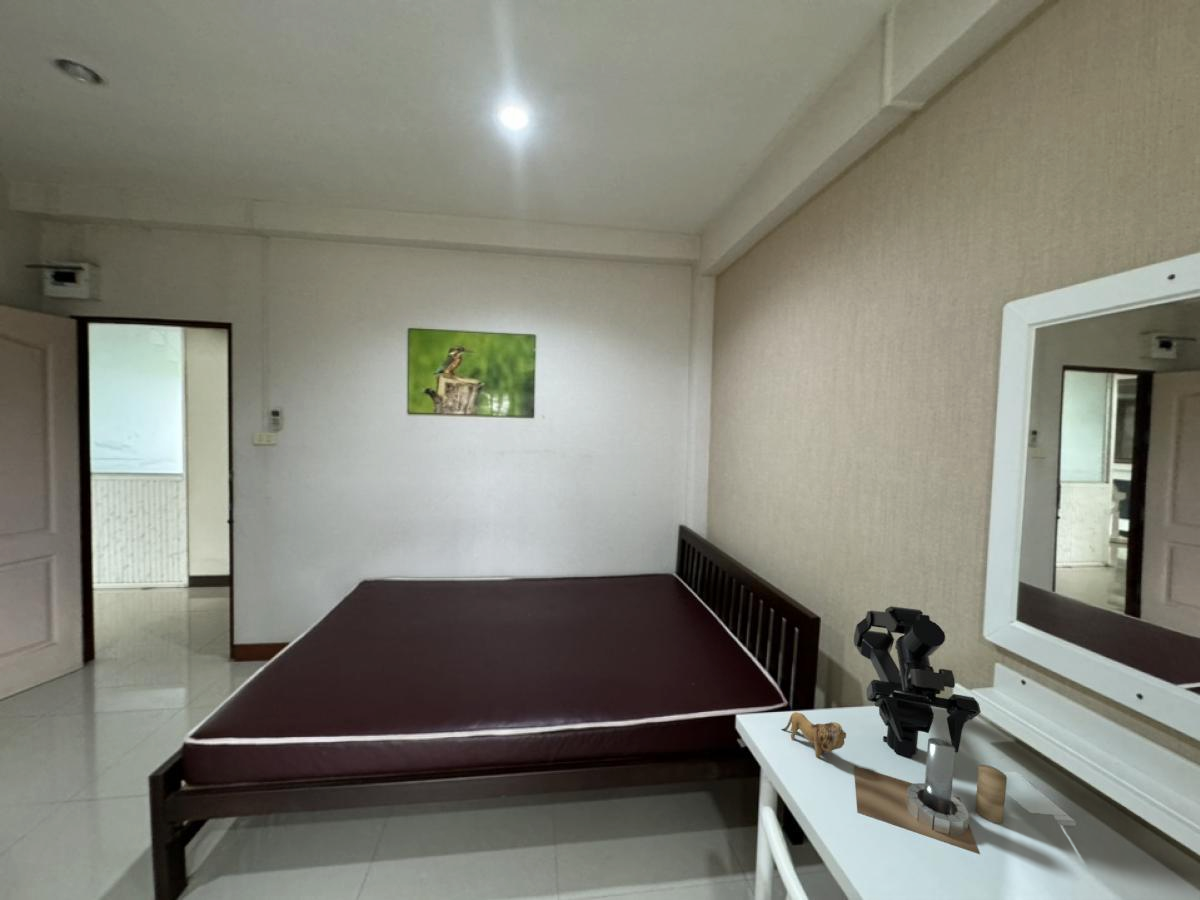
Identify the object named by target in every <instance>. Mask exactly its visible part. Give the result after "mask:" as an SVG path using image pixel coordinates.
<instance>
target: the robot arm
mask: <svg viewBox="0 0 1200 900" xmlns="http://www.w3.org/2000/svg"><path fill="white" fill-rule="evenodd" d="M872 627H873V628H874V627H875V628H879V629H880V628H881V629H886V631H887V633H886V632H882V631H876V630H875V631H874V630H871V628H872ZM893 633H894V634H900V635H901V636H899V637H898V638H897V639H896V641H895V638H894V636H893ZM945 641H946V633H945V631H944V630H943V629H942V627H940V625H938V624H937V623H936V622H934V621H933V620H931V619H930V615H929V614H923V611H922V609H921V610H920V609H916V608H909V607H907V608H906V607H899V606H893V605H891V606H888V607H886V608H885V611H878V610H869V611H868V610H867V612H866V614H865V618H863V619H862V620H861V621H860V622H858V623H857V624H856V626H855V630H854V634H853V643H854V647H856V649H857V651H858V652H859V653H860V655H861V656H863V657H864V658H866V659H868V660H869V661H871V664H872V666H873V667H874V669H875V671H876V674H877V676H878V678H879V680H877V679H873V680H871V681H870V682H869V684H868V685H867V687H866V699H867V701H869V702H872V703H874V706H875V707H877V708H878V712H879V714H878V715H879V716H880V718H881V720H882V722H883V723H884V725H885V726H887V733H886V735H883V737H882V741H883V742H884V743H886V744H887V746H888V747H889V748H890V749H892V750H893V752H894V753H895V754H896V755H897V756H900V757H904V758H908V759H912V758H913V756H914V755H915V756H916V754H917V752H919V750H918V742H919V741H918V739H919V732H921V733H922V732H923V733H926V734H929V733H930V731H931V728H932V724H933V720H934V714H935V713H934V712H933V709H932V707H933V708H938V709H944V710H946V713H947V714H948V716H947V717H946V722H947V727H948V733H949V738H950V744H951V745H953V746H954V748H955V754H957V753H959V750H960V744H961V739H962V738H961V737H962V732H963V728H964V726H965V723H967V722H968V721H972V720H973V719H975V718H976V717H977V716H979V715H980V714H981V713H982V712H981V708H980V703H979V702H978V701H977V700H976V699H975V697H973V696H968V695H961V694H957V693H953V694H952V695H951V696H950V697H949V698H944V697H939V696H937V695H940V694H941V692H946V691H945V687H946V688H951V689H953V688H955V686H956V684H955V683H956V681H955V676H954V672H953V670H951V669H945V668H939V669H938V672H936V671H935V670H934V668H933V666H931V661H930V656H932V655H933V654H934V653H935V652H936V651H937V650H938V649H939V648H940V647H941V646H942V645H943V644H944V642H945ZM894 642H895V646H894V647H895V650H896V653H897V660H898V666H897V664H896V662H895V660H894V658H893V657H892V655H891V651H892V649H893V644H894ZM898 667H899V668H898Z"/></svg>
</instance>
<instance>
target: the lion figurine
mask: <svg viewBox="0 0 1200 900" xmlns="http://www.w3.org/2000/svg"><path fill="white" fill-rule="evenodd" d="M789 728H790V732H791V733H790V739H791V741H794V742H795V739H796V737H795V736H796V735H797V733H798V732H799V731H798V730H800V732H801V734H802V735H803V737H804V738H805V739H806V740H807V741H809V742H811V743H813V745H814V750H815V751H814V755H815V758H816V759H821V754H825V752H828V753H831V752H832V751H834V750H838V749H842V748H843V746H844V745H845V743H846V742H845V739H846V738H847V733H846V732H845V730H843V727H842V725H841V724H840V723H838V722H835V721H831V722H827V723H816V724H814V723H812V722H811V721H810V720H809V719H808V718H807V717H806V716H805V714H803V713H801V712H797V711H796V712H793V713H792V714H791V715H790V718H789V720H788V723H787V725H786V726H785V727H784V728H781V729H780V730H781V731H783V732H786V731H787V730H788V729H789Z"/></svg>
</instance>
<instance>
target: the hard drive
mask: <svg viewBox="0 0 1200 900" xmlns="http://www.w3.org/2000/svg"><path fill="white" fill-rule="evenodd" d="M1002 772H1003V773H1004V774H1005V775H1006V777H1007V782H1006V794H1007V795H1009V796H1010V797H1011V798H1012V799H1013V800H1015V802H1017V803H1018V804H1019V805H1020V806H1021V807H1022V808H1023V809H1025V810H1026V811H1027V812H1029V813H1030V814H1035V813H1036V814H1041V815H1052V816H1053V817H1054V819H1055V821H1056V822H1057V823H1058V825H1059V826H1067V827H1068V826H1071V827H1075V826H1077V824H1076V823H1077V821H1075V819H1073V818H1072V817H1071V816H1069V814H1067V813H1066V812H1065V811H1064V810H1062V809H1061V808H1060V807H1059V806H1058V805H1056V804H1055V803H1054V802H1053V801H1051V799H1049V798H1048V797H1047V796H1046V795H1044V794H1043V793H1042V792H1041V791H1039V790H1038V789H1037V788H1035V786H1033V785H1032V784H1030V783H1029V782H1028V780H1026V779H1025V778H1024V777H1023V776H1022V775H1020V774H1019V773H1018V772H1016V771H1002Z"/></svg>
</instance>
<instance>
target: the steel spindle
mask: <svg viewBox="0 0 1200 900" xmlns="http://www.w3.org/2000/svg"><path fill="white" fill-rule="evenodd" d="M927 740H928V741H927V751H926V763H925V764H926V765H925V774H924V775H925V776H924V784H925V787H924V800H923V804H924V805H925V806H927V807H928V808H930V809H932V810H933V811H935V812H938V813H941V814H945V815H950V807H951V795H953V793H952V791H953V782H954V781H953V780H954V767H955V756H956V753H955V748H954V746H953V745H952V744H951V742H948V741H946V740H944V739H941V738H938V737H930V738H928V739H927Z"/></svg>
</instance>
